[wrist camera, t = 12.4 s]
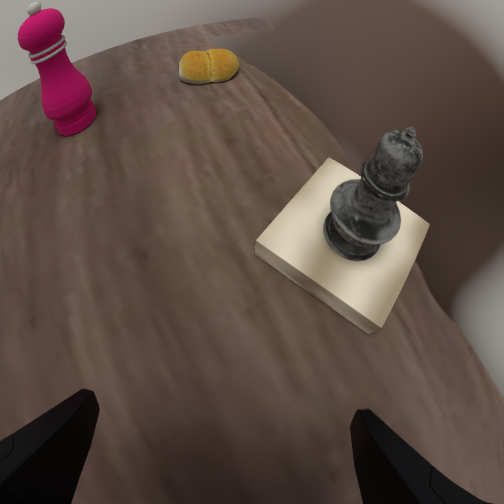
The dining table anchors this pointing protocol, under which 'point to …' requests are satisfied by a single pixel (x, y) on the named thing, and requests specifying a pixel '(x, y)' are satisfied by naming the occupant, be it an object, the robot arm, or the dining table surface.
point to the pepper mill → (56, 71)
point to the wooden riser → (333, 265)
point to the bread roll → (208, 66)
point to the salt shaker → (373, 198)
